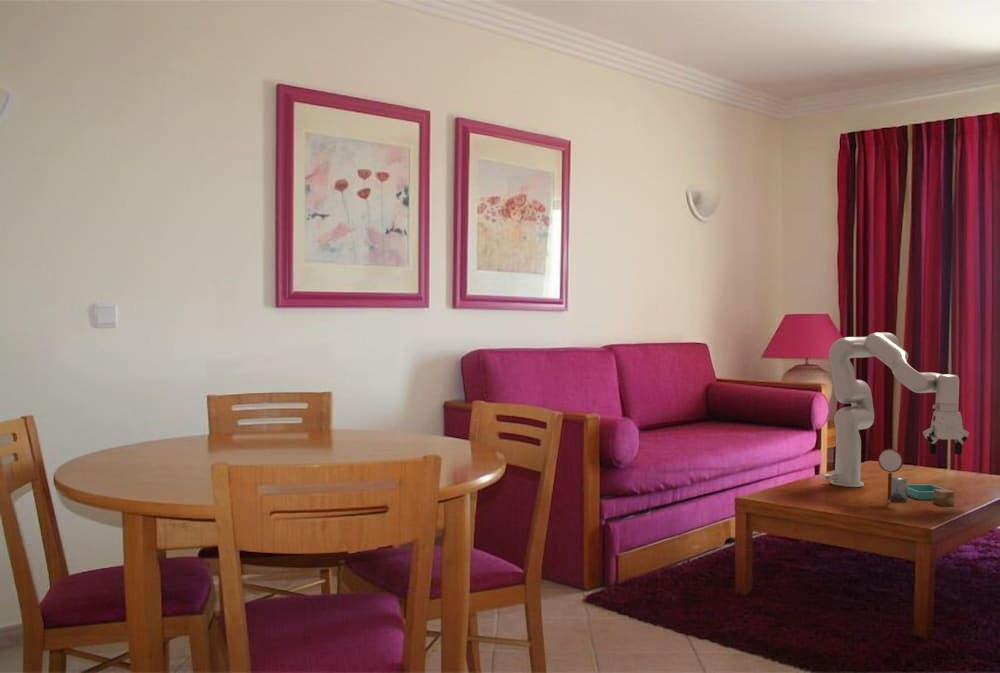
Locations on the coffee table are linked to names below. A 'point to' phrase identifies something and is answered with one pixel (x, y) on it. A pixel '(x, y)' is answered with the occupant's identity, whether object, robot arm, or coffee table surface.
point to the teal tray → (922, 491)
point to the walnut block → (943, 497)
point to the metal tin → (899, 488)
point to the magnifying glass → (890, 465)
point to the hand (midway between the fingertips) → (945, 454)
